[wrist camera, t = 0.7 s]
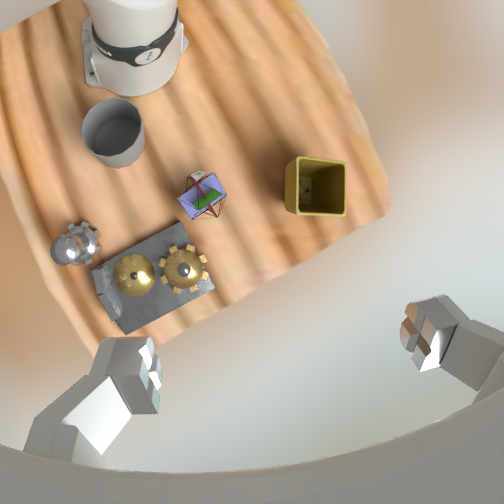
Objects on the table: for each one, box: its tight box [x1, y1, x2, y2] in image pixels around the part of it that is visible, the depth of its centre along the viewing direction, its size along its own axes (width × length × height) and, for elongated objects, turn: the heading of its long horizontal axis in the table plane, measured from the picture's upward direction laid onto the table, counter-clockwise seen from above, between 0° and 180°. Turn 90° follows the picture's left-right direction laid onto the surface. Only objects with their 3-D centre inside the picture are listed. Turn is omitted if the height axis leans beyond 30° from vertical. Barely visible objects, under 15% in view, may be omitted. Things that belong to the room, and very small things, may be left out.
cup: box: [81, 97, 145, 169], centre depth 39 cm, size 8×8×10 cm
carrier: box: [89, 221, 215, 335], centre depth 46 cm, size 12×17×4 cm
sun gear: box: [159, 243, 208, 294], centre depth 47 cm, size 8×8×4 cm
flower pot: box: [285, 156, 347, 216], centre depth 49 cm, size 9×9×9 cm
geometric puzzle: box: [177, 171, 227, 220], centre depth 46 cm, size 7×7×8 cm
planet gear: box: [50, 221, 102, 266], centre depth 39 cm, size 7×7×11 cm
